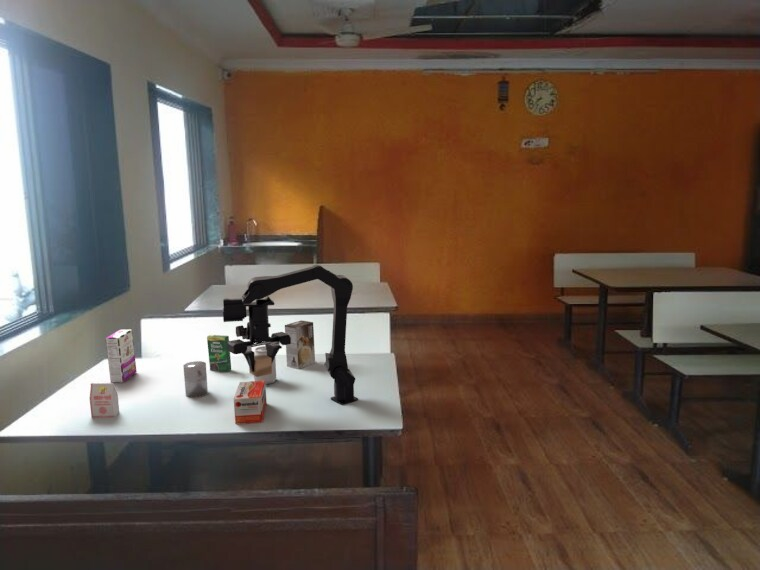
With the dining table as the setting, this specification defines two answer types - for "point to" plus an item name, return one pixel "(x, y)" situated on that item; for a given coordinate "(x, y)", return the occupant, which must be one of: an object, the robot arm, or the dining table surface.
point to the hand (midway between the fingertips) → (260, 370)
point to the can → (272, 377)
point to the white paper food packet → (103, 400)
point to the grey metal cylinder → (195, 379)
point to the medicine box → (250, 402)
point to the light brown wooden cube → (262, 365)
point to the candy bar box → (121, 356)
